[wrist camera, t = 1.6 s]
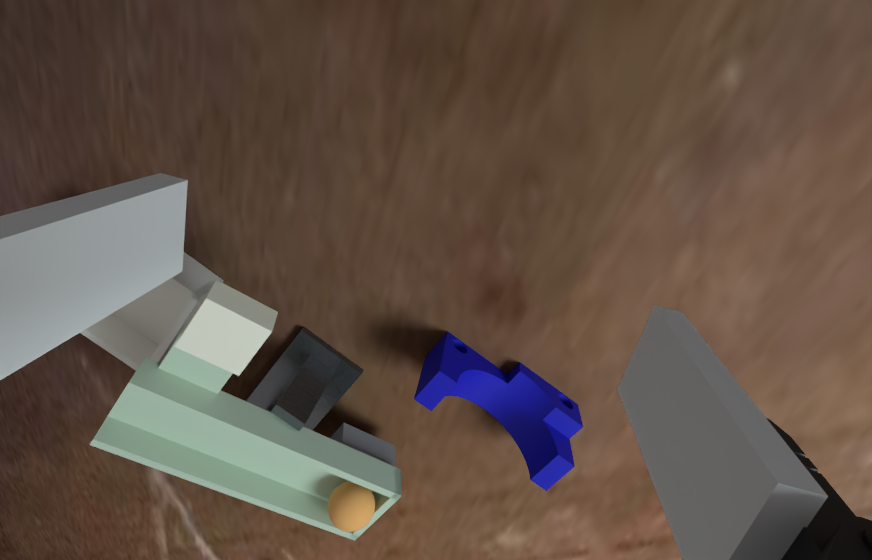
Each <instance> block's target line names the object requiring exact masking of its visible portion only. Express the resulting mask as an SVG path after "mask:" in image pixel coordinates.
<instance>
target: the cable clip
mask: <svg viewBox="0 0 872 560" xmlns="http://www.w3.org/2000/svg"><path fill="white" fill-rule="evenodd" d="M445 396H458V397H462V398H465V399H467V400H470V401H472V402H474V403H476V404H477V405H479V406H480V407H482V408H483V409H485V410H486V411H487V412H489V413H490V414H491V415H492V416H493V417H495V418H496V419H497V420H498V421H499V422H500V423H501V424H502V425H503V426H504V428H505V429H506V430H507V431H508V432H509V434H510V435H511V436H512V438H513V439H514V440H515V442H516V443H517V445H518V447H519V448H520V450H521V452H522V454H523V456H524V458H525V461H526V463H527V466H528V469H529V474H530V480H532V481H533V482H534V483H536V484H537V485H539V486H540V487H542V488H543V489H545V490H546V491H547V490H548V489H549V488H550V487H551V486H552V485H554V484H555V483H556V482H557V481H558V480H559V479H561V478H562V477H563V476H564V475H565V474H566V473H567V472H569V471H570V470H571V469H572V468H573V467H574V461H573V456H572V450H571V445H570V440H569V439H570V438H571V437H572V436H573V435H574V434H575V433H576V432H578V431H579V430H580V429H581V428H582V427H583V425H582V421H581V416H580V412H579V408H578V404H576V403H575V402H574V401H572V400H571V399H569V398H568V397H567V396H565V395H564V394H563V393H561V392H560V391H558V390H557V389H556V388H554V387H553V386H552V385H550V384H549V383H548V382H546V381H545V380H543V379H542V378H541V377H539V376H538V375H537V374H535V373H534V372H532V371H531V370H530V369H528V368H527V367H526V366H524V365H523V364H522V363H520V362H519V363H518V364H517V365H516V366H515V367H514V369H513V370H512V371H511V372H510V373H509V374H508V375H507V374H506V373H504V372H503V371H502V370H500V369H499V368H498V367H496V366H495V365H493V364H492V363H491V362H489V361H488V360H486V359H485V358H484V357H482V356H481V355H480V354H478V353H477V352H475V351H474V350H473V349H471V348H470V347H468V346H467V345H466V344H464V343H463V342H462V341H460V340H459V339H457V338H456V337H455V336H453V335H452V334H450V333H449V332H447V333H446V334H445V335H444V336H443V337H442V339H441V340H440V341H439V342H438V343H437V344H436V346H435V347H434V348H433V349H432V350H431V351H430V352H429V354H428V355H427V356H426V357H425V360H424V364H423V368H422V372H421V375H420V379H419V383H418V387H417V390H416V394H415V398H414V399H415V400H416V401H418V402H419V403H420V404H422V405H423V406H425V407H426V408H428V409H429V410H431V411H432V410H433V409H434V408H435V407H436V405H437V404H438V403H439V402H440V401H441V400H442V399H443V398H444V397H445Z"/></svg>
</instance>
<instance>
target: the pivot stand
mask: <svg viewBox="0 0 872 560" xmlns="http://www.w3.org/2000/svg"><path fill="white" fill-rule="evenodd" d="M362 372H363V370H362V369H361V368H360V367H358V366H357V365H356V364H354V363H353V362H351V361H350V360H349V359H347V358H346V357H345V356H343V355H342V354H340V353H339V352H338V351H336V350H335V349H334V348H332V347H331V346H329V345H328V344H327V343H325V342H324V341H323V340H321V339H320V338H318V337H317V336H316V335H314V334H313V333H312V332H310V331H309V330H307V329H306V328H305V327H303V328H302V330H301V331H300V332H299V334H298V335H297V336H296V337H295V339H294V340H293V341H292V343H291V344H290V345H289V346H288V348H287V349H286V350H285V352H284V353H283V354H282V355H281V357H280V358H279V359H278V361H277V362H276V363H275V364H274V366H273V367H272V368H271V370H270V371H269V372H268V374H267V375H266V376H265V377H264V379H263V380H262V381H261V383H260V384H259V385H258V386H257V388H256V389H255V390H254V392H253V393H252V394H251V395H250V397H249V398H248V399H247V401H246V402H248V403H251V404H253V405H255V406H257V407H260V408H262V409H264V410H267V411H269V412H271V413H273V414H275V415H276V416H277V417H279V418H280V419H282V420H283V421H285V422H286V423H288V424H289V425H290V426H292V427H293V428H295V429H296V430H298V431H300V430H301V429H302V427H305V428H308V429H310V430H313V429H314V428H315V427H316V425H317V424H318V423H319V422H320V421H321V420H322V419H323V417H324V416H325V415H326V414H327V413H328V412H329V411H330V409H331V408H332V407H333V406H334V405H335V404H336V403H337V401H338V400H339V399H340V398H341V397H342V396H343V395H344V393H345V392H346V391H347V390H348V389H349V388H350V387H351V385H352V384H353V383H354V382H355V381H356V380H357V379H358V377H359V376H360V375H361V374H362Z"/></svg>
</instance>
